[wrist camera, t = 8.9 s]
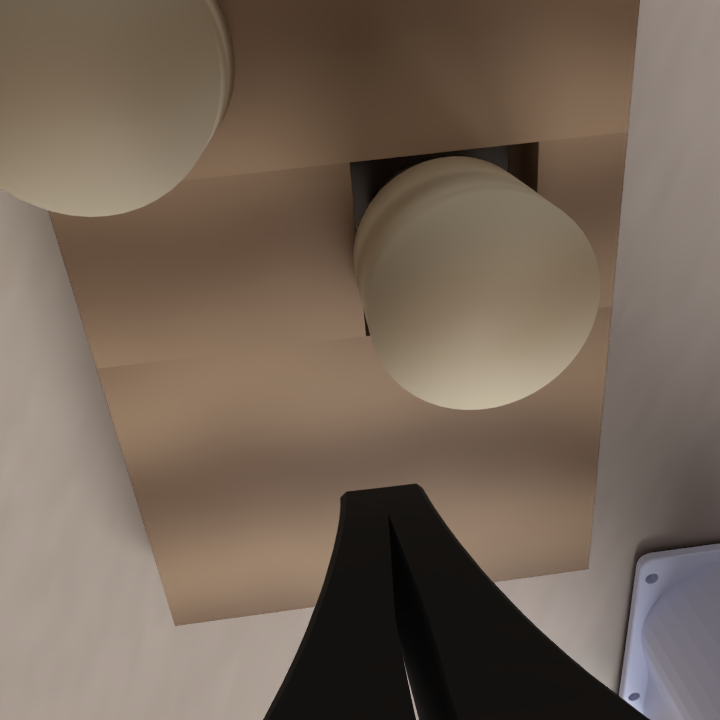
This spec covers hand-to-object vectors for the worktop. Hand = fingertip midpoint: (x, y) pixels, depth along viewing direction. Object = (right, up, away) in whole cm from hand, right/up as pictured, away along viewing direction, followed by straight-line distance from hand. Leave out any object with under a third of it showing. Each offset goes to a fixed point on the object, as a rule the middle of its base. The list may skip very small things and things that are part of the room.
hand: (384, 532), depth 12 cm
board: (-1, +5, +8) cm, 10 cm away
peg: (+2, +7, +8) cm, 11 cm away
